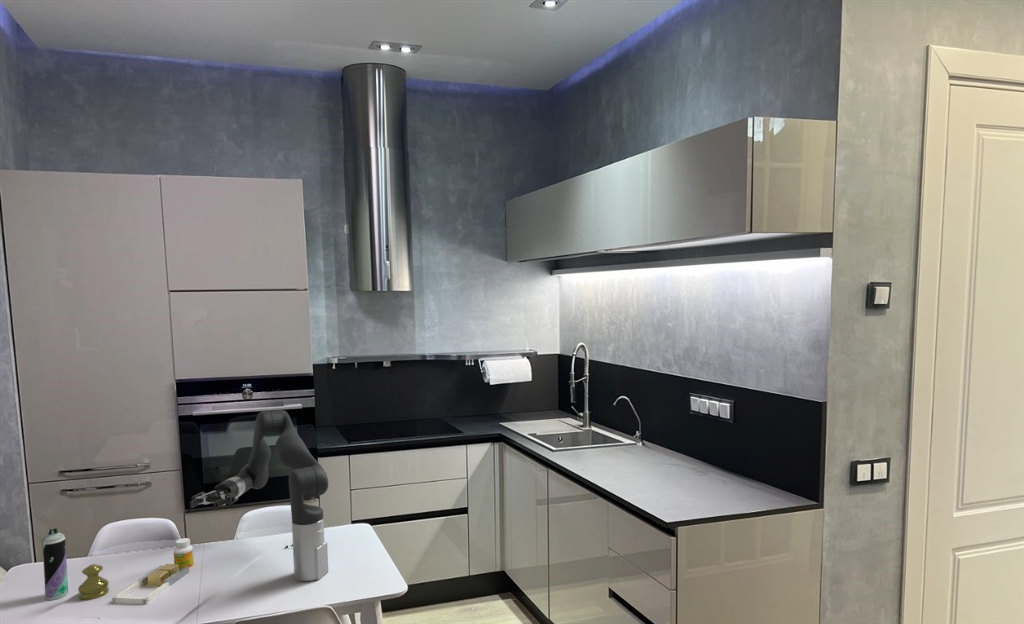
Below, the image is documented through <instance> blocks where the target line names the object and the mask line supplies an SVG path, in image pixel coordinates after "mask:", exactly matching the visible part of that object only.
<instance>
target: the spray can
mask: <svg viewBox="0 0 1024 624" xmlns="http://www.w3.org/2000/svg"><path fill="white" fill-rule="evenodd" d="M41 545H42V547H41V548H42V559H43V561H42V562H43V578H44V579H43V580H44V594H45V601H55V600H58V599H59V600H60V599H62V598H65V597H67V596H68V595H69V585H68V584H69V583H68V566H67V565H68V564H67V549H66V548H67V547H66V537H65V534H64V533H61V532H60V531H58V529H57V528H56V527H55V528H49V531H48V533H47V535H46V536H44V537H43V538H42V541H41Z"/></svg>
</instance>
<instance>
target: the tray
mask: <svg viewBox="0 0 1024 624" xmlns="http://www.w3.org/2000/svg"><path fill="white" fill-rule="evenodd" d="M139 588H142V587H141V586H140V582H138V581H136V582H134V583H133V584H131V585H130V586H129V587H127V588H125V589H123V590H122V591H120V592H119V593H117V594H116V595H114V596H113V597H111V598H112V604H122V605H123V604H124V605H125V604H127V605H128V604H129V605H148V604H149V603H150V602H152V601H153V600H154V599H156V598H157V597H159V596H160V595H161V594H163V593H164V592H166V591H167V590H169V589H170V587H169V583H165V584H163V585H162V586H160V587H156V589H155V590H153V591H152V592H150V593H149V594H147V595H146V596H129V595H131V594H132V593H134V592H135V591H136V590H138V589H139Z"/></svg>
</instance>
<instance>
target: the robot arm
mask: <svg viewBox="0 0 1024 624" xmlns="http://www.w3.org/2000/svg"><path fill="white" fill-rule="evenodd" d="M292 421H293V420H291V417H290V415H289V413H288V412H287V411H286V410H284V409H283V410H282V409H277V410H275V409H273V410H262V411H260V412H259V413H258V414H257V416H256V419H255V422H254V431H253V437H252V438H253V439H252V447H251V452H250V455H249V458H248V462H247V464H245V465H244V466H243V467H242V468H241V469H240V471H239V472H238V473H237V474H236V475H234V476H233V477H229V478H227V479H226V480H224V481H222V482H220V483H219V484H216V485H215V487H214V488H213V490H212V491H210V492H207V493H206V492H205V491H201V492H199V493H197V494H195V495H192V496H191V501H189V509H194V508H196V507H197V506H199V505H205V506H206V505H209V504H213V509H214V510H217V509H219V508H221V507H222V506H223V507H224V506H226V505H228V506H231V505H233V504H234V503H235V502H237V501H238V500H239V497H241V496H242V495H243V494H245V493H247V492H248V491H249V490H250V489H251V488H252V489H254V490H259V489H262V488H263V487H265V486H266V484H267V482H268V480H269V474H270V473H269V465H268V464H269V462H270V460H271V455H272V450H271V447H270V446H269V444H268V443H267V442H266V440H265V438H272V437H278V438H277V440H276V442H275V445H274V452H275V455H276V457H277V458H278V461H279V462H280V464H282V466H284V467H286V468H288V469H289V470H291V471H290V472H289V475H288V491H289V501H290V512H291V513H290V515H291V526H292V527H291V531H292V533H291V535H292V544H293V549H292V553H293V554H292V557H293V558H292V559H293V576H294V579H295V580H296V581H300V582H310V581H319V580H321V579H323V577H324V576H325V575H326V574H327V573H328V572H329V554H328V541H325V525H324V521H325V520H324V510H323V508H322V507H320V506H317V505H311V504H306V503H305V502H304V500H306V499H307V500H308V499H310V498H316V497H320V496H322V495H324V494H325V493H326V492H327V491H328V488H329V480H328V475H327V473H326V471H325V469H324V468H323V466H322V465H321V464H320V463H319V462H318V461H317V460H316V459H315V458H314V456H313V455H312V454H311V452H310V450H309V449H308V447H307V445H306V444H305V441H303V439H302V438H301V437H300V435H299V434H298V432H297V430H296V429H295V427H294V424H293V422H292Z"/></svg>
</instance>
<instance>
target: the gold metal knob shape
mask: <svg viewBox="0 0 1024 624" xmlns="http://www.w3.org/2000/svg"><path fill="white" fill-rule="evenodd" d="M103 567H104V566H103V565H101V564H95V563H93V564H89V565H88V566H86V567H85V568H84V569H83V570H82V574H83V575H85V576H86V579H85V580H84V581H83V582H82V583H81V584H80V585H79V586H78V588H77V589H78V590H77V591H78V593H79V594H78V599H79V600H80V601H92V600H95V599H99V598H101V597H104V596H105V595H107V594H108V593H109V590H110V588H109V587H108V586H109V580H108V579H107V578H103V577H102V576H100V574H99V573H100V572H101V571H102V570H103V569H104V568H103Z"/></svg>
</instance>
